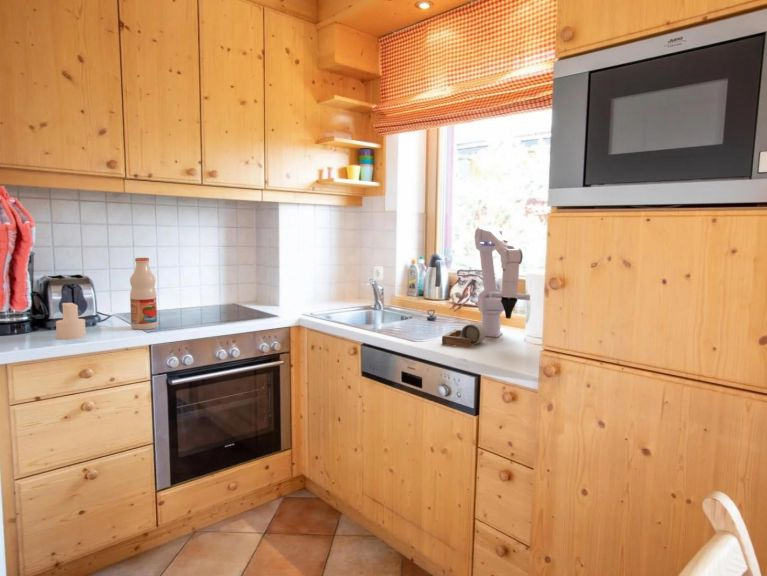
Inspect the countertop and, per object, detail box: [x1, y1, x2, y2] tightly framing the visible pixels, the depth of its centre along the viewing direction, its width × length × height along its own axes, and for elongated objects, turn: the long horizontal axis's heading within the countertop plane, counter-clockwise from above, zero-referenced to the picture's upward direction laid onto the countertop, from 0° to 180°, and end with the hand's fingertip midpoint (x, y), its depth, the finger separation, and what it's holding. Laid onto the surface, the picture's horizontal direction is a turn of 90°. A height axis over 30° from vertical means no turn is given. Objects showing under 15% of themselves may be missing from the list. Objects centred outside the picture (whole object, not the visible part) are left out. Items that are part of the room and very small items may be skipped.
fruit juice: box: [129, 257, 158, 331], centre depth 201 cm, size 9×9×28 cm
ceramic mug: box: [459, 323, 486, 346], centre depth 189 cm, size 11×8×8 cm
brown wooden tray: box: [441, 329, 472, 348], centre depth 190 cm, size 15×10×3 cm
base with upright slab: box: [55, 302, 87, 341], centre depth 182 cm, size 9×9×12 cm
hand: (508, 318), depth 186 cm, fingers closed
